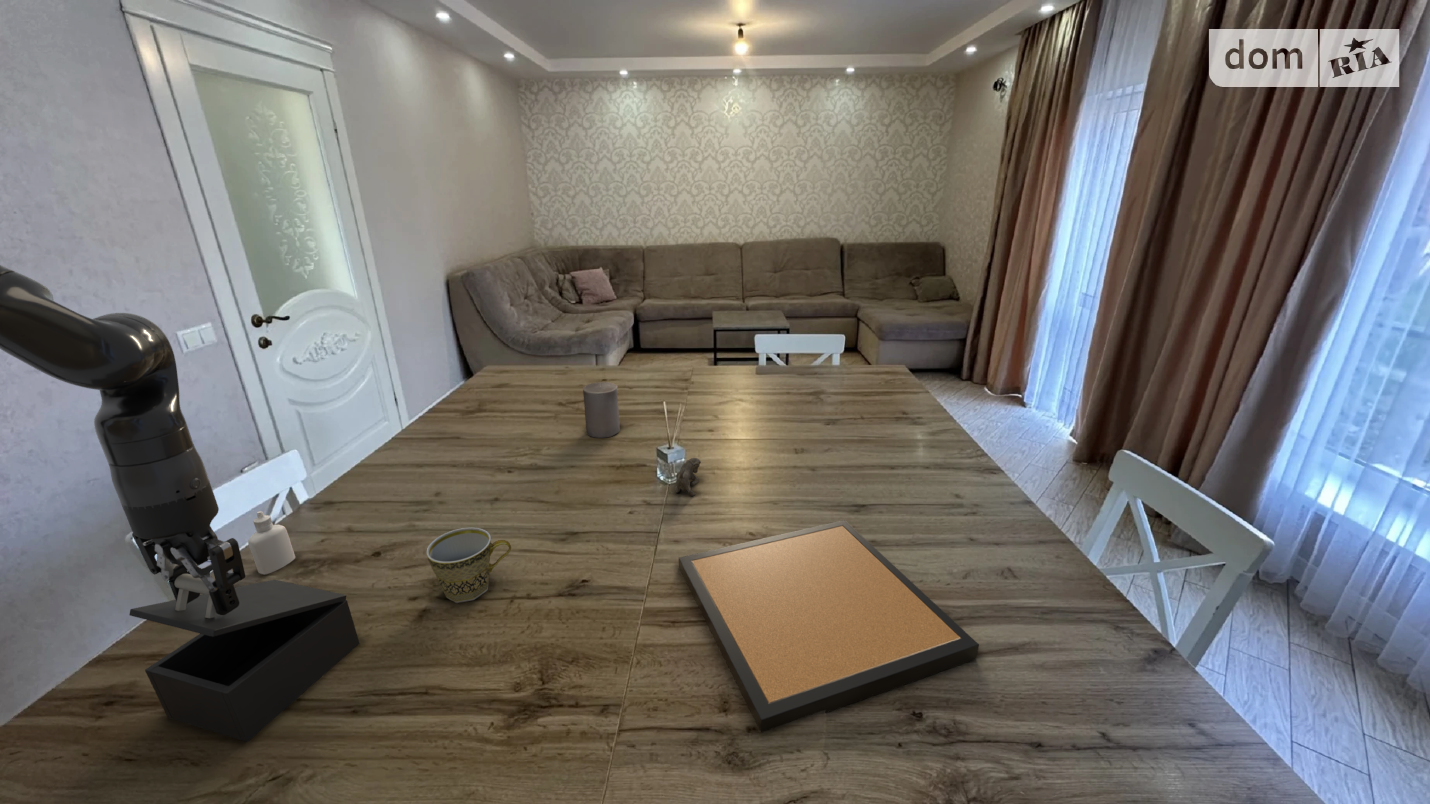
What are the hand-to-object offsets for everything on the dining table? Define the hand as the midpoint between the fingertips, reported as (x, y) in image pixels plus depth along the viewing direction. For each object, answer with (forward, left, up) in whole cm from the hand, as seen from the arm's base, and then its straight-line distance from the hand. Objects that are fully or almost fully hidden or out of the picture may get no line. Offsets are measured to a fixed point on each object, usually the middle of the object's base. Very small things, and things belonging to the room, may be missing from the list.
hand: (209, 605), depth 70 cm
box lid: (+4, 0, -3) cm, 5 cm away
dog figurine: (+71, -41, -16) cm, 84 cm away
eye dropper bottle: (+23, +24, -16) cm, 37 cm away
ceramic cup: (+27, -16, -16) cm, 36 cm away
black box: (+3, 0, -16) cm, 17 cm away
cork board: (+37, -73, -16) cm, 84 cm away
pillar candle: (+96, -7, -16) cm, 98 cm away
